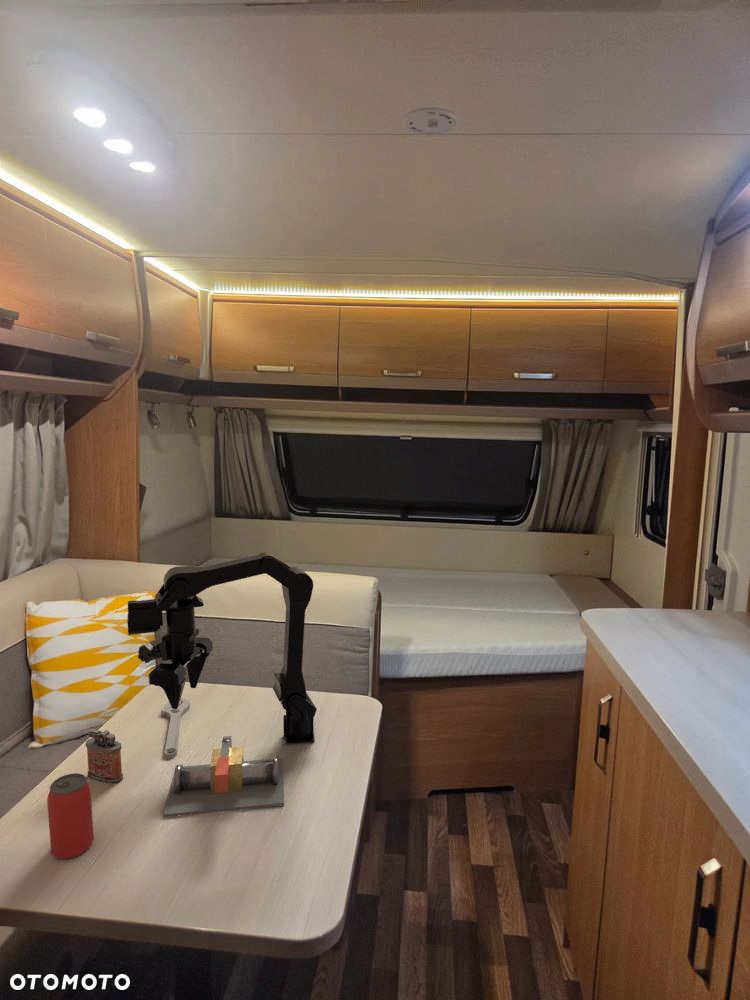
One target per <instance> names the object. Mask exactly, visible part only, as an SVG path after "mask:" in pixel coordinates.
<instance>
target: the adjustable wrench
mask: <svg viewBox="0 0 750 1000" xmlns="http://www.w3.org/2000/svg"><path fill="white" fill-rule="evenodd" d="M190 709H191V701H190V700H189V699H187V698H181V700H180V703H179V706H178V708H177V709H173V708H172V707H171V705H170V702H169V701H168V702H166V703H165V704H164V705H163V709H162V710H161V716H163V717H164V716H165V717H167V718H169V719H170V720H169V725H168V730H167V738H166V742H165V747H164V757H165V758H167V759H174V758H175V757H177V756H178V751H179V741H180V740H179V737H180V726H181V725H180V724H181V719H182V717H183V716H184V715H185V714H186V713H188V711H189V710H190Z"/></svg>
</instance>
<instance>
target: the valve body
mask: <svg viewBox="0 0 750 1000" xmlns="http://www.w3.org/2000/svg"><path fill="white" fill-rule="evenodd" d="M220 753H221V748H213V749H212V754H211V758H210V765H209V766H197V767H185V768H183V764H176V765H175V768H174V772H173V774H174V775H173V779H174V793H175V794H180V793H181V790H187V789H198V788H209V787H211V795H215V794H226V793H237V792H242V790H243V784H254V783H265V782H273V785H278V758H279V757H278V756H272V759H273V760H268V761H256V762H244V760H245V759H244V746H236V747H232V755H231V759H230V781H229V789H228V792H221V793H215V772H216V766H217V760H218V758H220Z"/></svg>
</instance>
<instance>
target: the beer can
mask: <svg viewBox="0 0 750 1000" xmlns="http://www.w3.org/2000/svg"><path fill="white" fill-rule="evenodd" d="M47 794H48V795H47V799H46V800H47V801H46V803H47V816H48V817H47V818H48V827H49V829H48V830H49V841H50V842H49V844H50V853H51V854H52V856H53V857H54V858H58V859H61V860H66V859H67V860H68V859H73V858H77V857H78V856H79V855H82V854H83V853H85V852H86V851H87V850H88V849H89V848H90V847H91V846H92V844H93V841H94V838H95V836H94V821H93V808H92V807H93V805H92V793H91V786H90V784H89V782H88V780H87V776H86V775H85V774H82V773H69V774H65V775H62V776H60V777H58V778H57V779H55V780H54V781H53V782H51V784H50V786H49V792H48V793H47Z"/></svg>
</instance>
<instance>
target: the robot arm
mask: <svg viewBox="0 0 750 1000" xmlns="http://www.w3.org/2000/svg"><path fill="white" fill-rule="evenodd" d="M265 574H266V575H267V576H269V577H271V578H272V579H274V580H275V581H277V582H278V583H279V584H281V590H282V596H283V600H284V604H285V618H284V619H285V621H284V643H283V658H282V659H283V660H282V664H283V665H282V668H281V670H280V672H279V673H278V672H274V673H273V678H274V684H273V686H272V690H273V692H274V694H275V696H276V698H277V700H278V702H280V705H281V707H282V708H283V710H285V714H284V715H283V716H282V718H283V719H282V720H283V738H285V744H299V743H300V744H301V743H310V742H311V743H312V742H315V739H316V738H315V731H314V723H315V720H314V719H315V718H314V717H315V716H316V712H317V707H316V705H315V704H314V702H313V701H312V698H311V697H310V695H309V694H308V692H307V690H306V689H307V688H306V683H305V680H304V674H303V658H304V657H303V656H304V655H303V654H304V638H305V637H304V636H305V622H306V621H305V620H306V610H307V608H308V605H309V604H310V601H311V599H312V594H313V589H314V580H313V579H312V577H311V576H310V575H309V574H308V573H306V571H305V570H304V569H302V568H301V567H299V566H289V565H288V564H287V563H285V562H283V561H281V560H279V559H278V558H276V557H275V556H274V555H272V554H271V553H270V552H267V551H266V552H265V551H264V552H260V553H259V554H255V555H251V556H246V557H241V558H238V559H233V560H229V561H224V562H220V563H215V564H211V565H205V566H204V565H201V566H199V565H181V566H180V565H179V566H174V567H171V568H169V569H168V570H167V572H166V573H165V574H164V577H163V584H162V585H161V587H160V588H159V589H158V591H157V592H156V594H155V595H154V598H152V599H151V598H150V599H144V600H143V599H142V600H136V599H135V600H128V601H127V633H128V634H127V635H128V636H134V635H135V636H136V635H141V634H148V633H149V634H150V633H156V632H158V631H159V630H161V627H163V626H164V620H163V619H164V617H163V612H165V621H166V622H165V624H166V633H165V634H163V635H162V637H159V638H157V639H154V640H151V641H149V642H147V643H146V644H142V645H140V646H139V647H138V651H137V652H138V656H137V658H138V659H139V660H140V661H141V662H144V663H145V664H148V663H150V662H151V661H154V660H158V659H161V661H165V663H164V662H160V663H159V664H158V665H156V667H155V668H153V669H152V670H151V671H150V672H149V673H148V676H147V677H148V684H149V685H151V686H155V687H160V688H161V689H162V690H163V692H164V694H165V696H166V697H167V699H168V702H170V705H171V707H172V708H173V709H177V708H178V706H179V705H180V704H181V699H182V696H183V692H184V688H185V685H186V681H187V677H188V680H189V681H188V682H189V687H190V688H191V689H196V688H197V687H198V683H199V681H200V678H201V676H202V674H203V671H204V669H205V667H206V664H207V662H208V659H209V657H210V656H211V652H212V651H213V649H214V648H213V647H214V646H213V641H212V640H211V639H210V638H209V637H202V636H201V637H198V635H199V634H200V628H196V619H195V618H196V616H195V608H202V607H204V605H205V603H204V600H203V599H202V598H201V597H199V596H198V595H199V594H200V593H202V592H203V591H205V590H208V589H209V588H211V587H215V586H219V585H222V584H223V585H224V584H227V583H230V582H235V581H239V580H243V579H248V578H252V577H255V576H260V575H265ZM167 661H170V662H171V663H166V662H167ZM185 666H186V668H185ZM186 670H187V671H186ZM186 673H187V675H188V676H187V677H186Z"/></svg>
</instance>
